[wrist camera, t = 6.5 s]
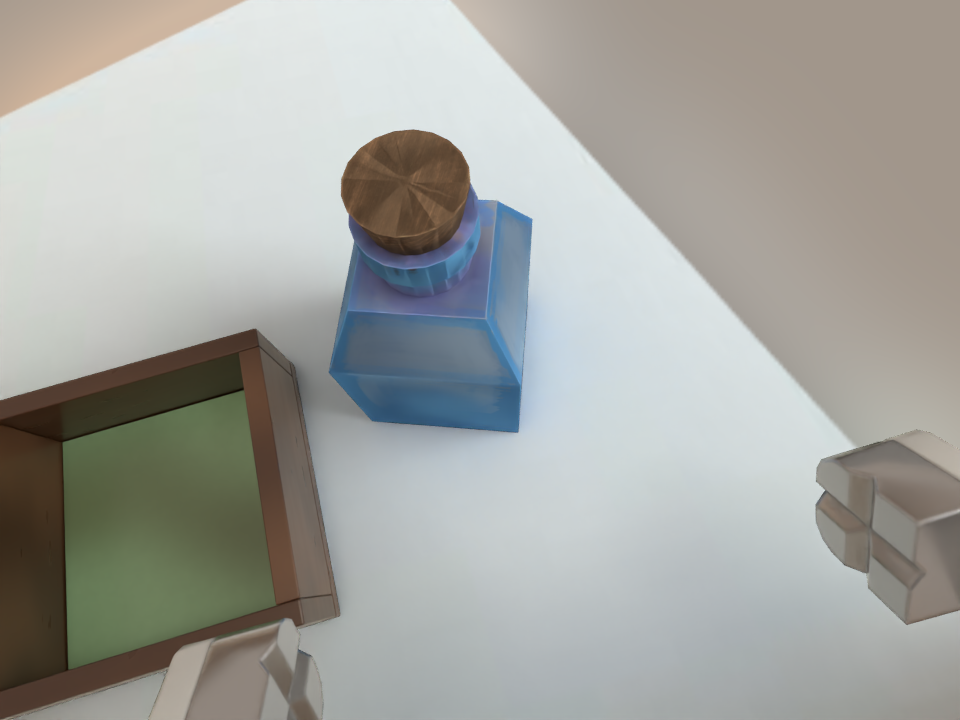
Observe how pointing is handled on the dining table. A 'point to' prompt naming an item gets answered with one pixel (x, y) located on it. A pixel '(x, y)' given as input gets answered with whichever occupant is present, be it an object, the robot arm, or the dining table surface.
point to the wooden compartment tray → (153, 518)
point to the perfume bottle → (431, 290)
